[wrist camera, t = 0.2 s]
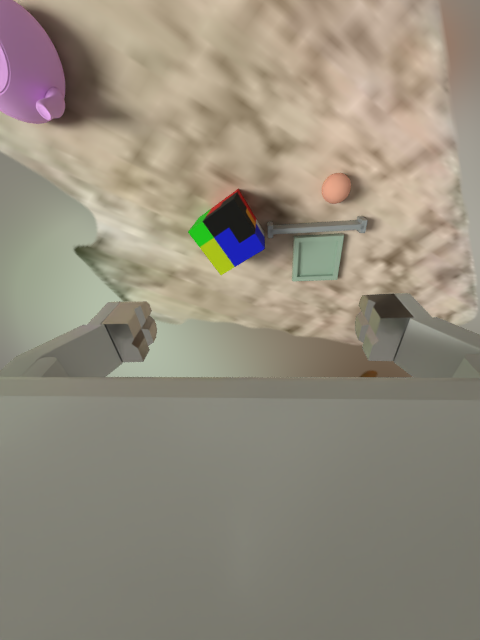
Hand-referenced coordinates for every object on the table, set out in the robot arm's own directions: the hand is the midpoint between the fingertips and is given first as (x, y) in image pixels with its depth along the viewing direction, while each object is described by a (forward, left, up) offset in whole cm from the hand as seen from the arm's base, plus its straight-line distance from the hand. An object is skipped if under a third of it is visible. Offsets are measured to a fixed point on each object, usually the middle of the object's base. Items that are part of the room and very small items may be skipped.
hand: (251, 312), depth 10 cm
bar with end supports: (+10, +11, -47) cm, 50 cm away
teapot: (-17, -36, -48) cm, 62 cm away
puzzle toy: (+9, -6, -48) cm, 49 cm away
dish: (+17, +12, -47) cm, 52 cm away
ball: (+3, +14, -45) cm, 47 cm away
